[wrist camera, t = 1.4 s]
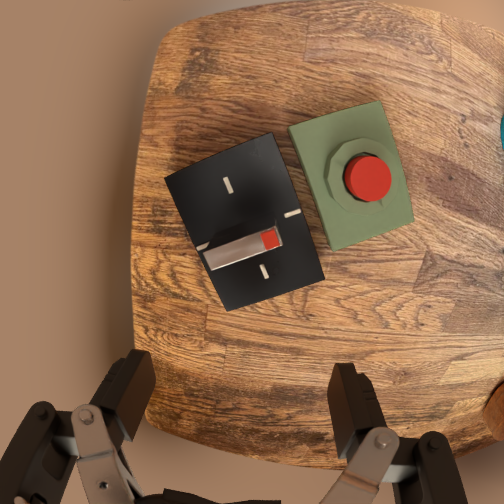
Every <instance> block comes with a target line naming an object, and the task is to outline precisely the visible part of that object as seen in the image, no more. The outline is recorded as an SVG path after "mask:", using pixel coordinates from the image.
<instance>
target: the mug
mask: <svg viewBox="0 0 504 504" xmlns="http://www.w3.org/2000/svg"><path fill="white" fill-rule="evenodd" d="M501 140H502V145H503V149H504V116H503V118H502V122H501Z"/></svg>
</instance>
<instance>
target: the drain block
mask: <svg viewBox="0 0 504 504" xmlns="http://www.w3.org/2000/svg"><path fill="white" fill-rule="evenodd" d="M287 131H288V133H289V136H290V138H291V141H292V143H293V146H294V148H295V151H296V153H297V156H298V159H299V161H300V164H301V166H302V169H303V172H304V175H305V177H306V180H307V183H308V186H309V188H310V191H311V194H312V197H313V200H314V203H315V205H316V208H317V211H318V214H319V217H320V220H321V223H322V226H323V229H324V233H325V236H326V239H327V242H328V245H329V246H330V248H331V250H332V251H333V252H334V251H337V250H340V249H342V248H345V247H348V246H351V245H353V244H356V243H359V242H361V241H364V240H367V239H369V238H372V237H375V236H377V235H380V234H383V233H385V232H388V231H391V230H393V229H396V228H399V227H401V226H404V225H406V224H409V223H411V222H414V221H415V220H414V215H413V210H412V205H411V201H410V196H409V192H408V188H407V184H406V180H405V176H404V172H403V168H402V165H401V161H400V157H399V154H398V151H397V147H396V144H395V141H394V138H393V135H392V132H391V129H390V126H389V123H388V120H387V117H386V115H385V112H384V109H383V106H382V104H381V101H380V100H378V101H374V102H370V103H366V104H362V105H358V106H354V107H351V108H347V109H343V110H340V111H336V112H333V113H329V114H326V115H323V116H319V117H316V118H313V119H310V120H307V121H304V122H301V123H298V124H295V125H292V126H289V127H288V128H287ZM359 156H373V157H377V158H379V159H381V160H383V161H384V162H385V163H386V164H387V166H388V167H389V169H390V172H391V177H392V182H391V187H390V189H389V191H388V193H387V194H386V195H385V196H384V197H383V198H381V199H380V200H377V201H365V200H363V199H361V198H359V197H357V196H355V195H354V194H353V193H351V192H350V190H349V189H348V187H347V185H346V182H345V170H346V168H347V166H348V164H349V163H350V162H351V160H353V159H354V158H356V157H359Z"/></svg>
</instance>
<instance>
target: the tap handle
mask: <svg viewBox="0 0 504 504" xmlns="http://www.w3.org/2000/svg"><path fill="white" fill-rule="evenodd" d="M282 245H283V241H282V235H281V229H280V225H279V222H278V220H277V217H276V215H275V212H274V211H272V212H269V213H266V214H264V215H261V216H258V217H256V218H253V219H250V220H248V221H245V222H243V223H240V224H237V225H235V226H232V227H229V228H227V229H224V230H222V231H219V232H216V233H215V234H214V236H213V237H212V239H211V241H210V242H209V244H208V245H207V247H206V249H205V250H204V252H203V254H204V256H205V258H206V260H207V263H208V265H209V267H210V269H211V270H215V269H218V268H220V267H223V266H226V265H229V264H232V263H235V262H237V261H240V260H243V259H246V258H249V257H251V256H254V255H257V254H260V253H263V252H265V251H268V250H271V249H274V248H277V247H279V246H282Z"/></svg>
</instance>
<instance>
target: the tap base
mask: <svg viewBox="0 0 504 504" xmlns="http://www.w3.org/2000/svg"><path fill="white" fill-rule="evenodd" d="M164 179H165V182H166V184H167V186H168V189H169V191H170V193H171V196H172V198H173V200H174V202H175V205H176V207H177V209H178V211H179V213H180V216H181V218H182V220H183V222H184V224H185V227H186V229H187V231H188V233H189V235H190V237H191V240H192V242H193V244H194V246H195V248H196V250H197V252H198V254H199V256H200V259H201V261H202V263H203V265H204V267H205V269H206V271H207V273H208V275H209V277H210V279H211V281H212V283H213V285H214V287H215V289H216V291H217V293H218V295H219V297H220V299H221V301H222V303H223V305H224V307H225V309H226V311H227V312H228V311H231V310H234V309H238V308H241V307H244V306H247V305H250V304H254V303H257V302H260V301H263V300H266V299H269V298H272V297H275V296H278V295H281V294H284V293H287V292H290V291H293V290H296V289H299V288H302V287H305V286H308V285H311V284H314V283H316V282H319V281H322V280H325V277H324V274H323V271H322V267H321V264H320V261H319V258H318V255H317V252H316V249H315V246H314V243H313V240H312V237H311V234H310V231H309V228H308V225H307V223H306V220H305V217H304V214H303V211H302V208H301V206H300V203H299V200H298V197H297V195H296V192H295V189H294V187H293V184H292V181H291V179H290V176H289V173H288V171H287V168H286V166H285V163H284V160H283V158H282V155H281V153H280V150H279V148H278V145H277V143H276V140H275V138H274V135H273V133H272V132H270V133H267V134H265V135H262V136H259V137H257V138H254V139H251V140H249V141H246V142H244V143H241V144H239V145H236V146H234V147H231V148H229V149H226V150H224V151H222V152H219V153H217V154H215V155H212V156H210V157H208V158H206V159H203V160H201V161H199V162H197V163H194V164H192V165H190V166H188V167H186V168H184V169H181V170H179V171H177V172H175V173H173V174H171V175H169V176H167V177H165V178H164ZM272 211H274V212H275V215H276V217H277V220H278V222H279V225H280V229H281V235H282V241H283V245H282V246H279V247H277V248H274V249H271V250H268V251H265V252H263V253H260V254H257V255H254V256H251V257H249V258H246V259H243V260H240V261H237V262H235V263H232V264H229V265H226V266H223V267H220V268H218V269H215V270H211V269H210V267H209V265H208V263H207V260H206V258H205V256H204V254H203V252H204V250H205V249H206V247H207V245H208V244H209V242H210V241H211V239H212V237H213V236H214V234H215V233H216V232H219V231H222V230H224V229H227V228H229V227H232V226H235V225H237V224H240V223H243V222H245V221H248V220H250V219H253V218H256V217H258V216H261V215H264V214H266V213H269V212H272Z"/></svg>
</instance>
